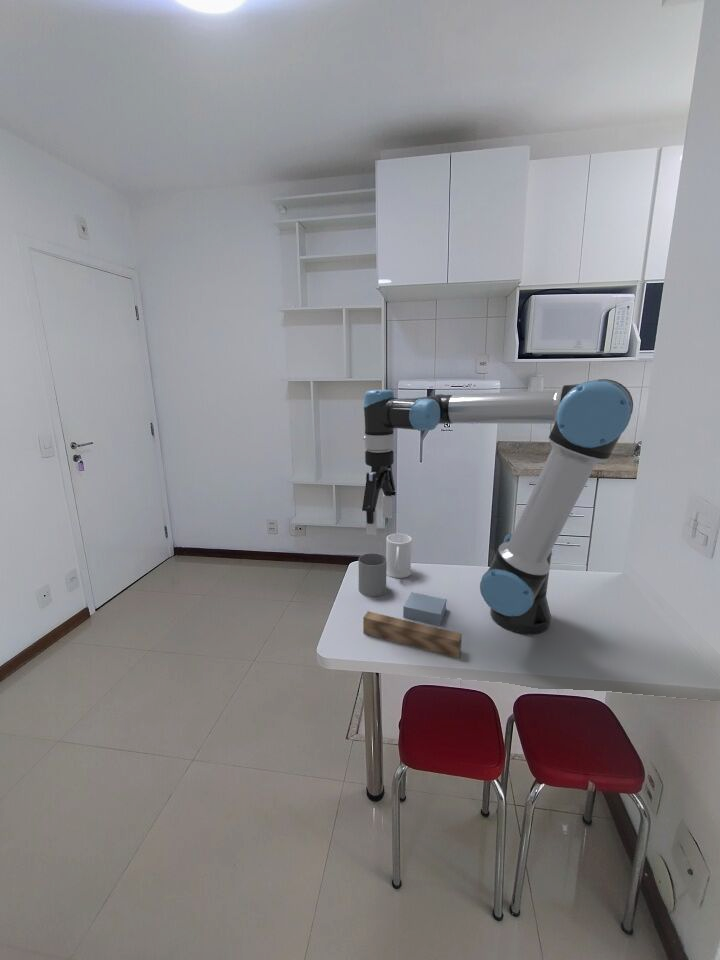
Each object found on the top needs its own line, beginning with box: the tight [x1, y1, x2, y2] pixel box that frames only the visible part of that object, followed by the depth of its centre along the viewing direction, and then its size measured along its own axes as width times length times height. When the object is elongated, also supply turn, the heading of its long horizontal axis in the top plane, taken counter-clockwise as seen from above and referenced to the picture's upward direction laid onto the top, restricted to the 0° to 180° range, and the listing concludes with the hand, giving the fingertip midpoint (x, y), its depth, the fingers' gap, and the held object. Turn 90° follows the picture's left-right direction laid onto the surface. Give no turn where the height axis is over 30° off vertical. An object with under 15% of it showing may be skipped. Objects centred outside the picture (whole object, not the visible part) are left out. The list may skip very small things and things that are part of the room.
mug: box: [385, 533, 413, 579], centre depth 136 cm, size 12×8×12 cm
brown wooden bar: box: [362, 610, 463, 659], centre depth 104 cm, size 24×3×4 cm, turn 67°
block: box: [402, 591, 447, 626], centre depth 116 cm, size 10×8×4 cm
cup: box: [358, 552, 387, 597], centre depth 128 cm, size 8×8×10 cm
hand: (380, 525), depth 117 cm, fingers open, 13 cm apart
